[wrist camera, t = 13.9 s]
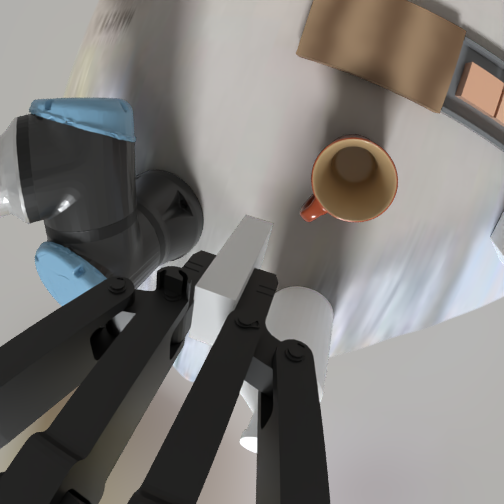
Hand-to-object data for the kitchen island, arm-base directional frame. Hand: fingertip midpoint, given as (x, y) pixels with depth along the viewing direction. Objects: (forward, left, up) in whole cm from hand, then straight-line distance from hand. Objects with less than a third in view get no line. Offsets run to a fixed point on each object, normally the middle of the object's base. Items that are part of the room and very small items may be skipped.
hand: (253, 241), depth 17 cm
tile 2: (+17, +18, -26) cm, 36 cm away
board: (+4, +18, -26) cm, 32 cm away
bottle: (+8, -25, -27) cm, 38 cm away
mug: (+5, 0, -27) cm, 27 cm away
